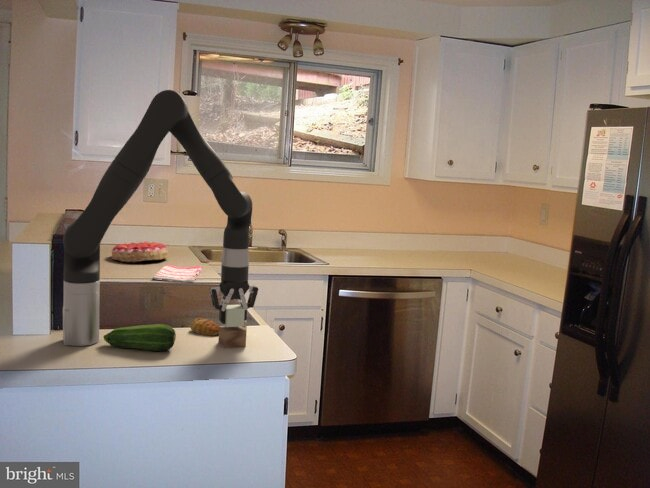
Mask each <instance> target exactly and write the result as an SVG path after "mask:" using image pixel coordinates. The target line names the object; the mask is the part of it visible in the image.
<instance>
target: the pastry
mask: <svg viewBox="0 0 650 488" xmlns="http://www.w3.org/2000/svg"><path fill="white" fill-rule="evenodd" d="M219 326H220V325H219V324H217V323H216V322H214V321H213V320H212V319H208V318H203V317H202V318H201V317H196V318H195V319H194V320H193V321H191V323H190V326H189V327H190V330H191V331H192V332H193V333H196V334H198V335H203V336H216V335H219Z"/></svg>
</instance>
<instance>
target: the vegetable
mask: <svg viewBox="0 0 650 488" xmlns="http://www.w3.org/2000/svg"><path fill="white" fill-rule="evenodd" d="M102 337H103V340H104V341H105V342H106V343H107V344H109V345H110V346H111V347H112V348H118V349H123V348H124V349H125V348H126V349H127V348H129V349H135V350H142V351H143V350H144V351H150V352H151V351H152V352H164V351H165V352H166V351H168V350H171V349H172V348H173V346H174V345H175V342H176V337H177V335H176V331H175V329H174V328H173V327H172V326H170V325H169V324H168V325H167V324H164V323H156V324H155V323H154V324H153V323H152V324H144V325H133V326H126V327H123V326H122V327H117V328H114V329H113V330H111V331H110V332H108V333H107V334H105V335H104V334H103V336H102Z"/></svg>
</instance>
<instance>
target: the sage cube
mask: <svg viewBox="0 0 650 488" xmlns="http://www.w3.org/2000/svg"><path fill="white" fill-rule="evenodd" d="M225 311H226V321H225V324H223V326H224V325H225V326H226V327H238V326H244V314H245V309H244V308H243V307H242V306H241V305H240V303H239V304H228V305H227V307H226V310H225Z"/></svg>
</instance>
